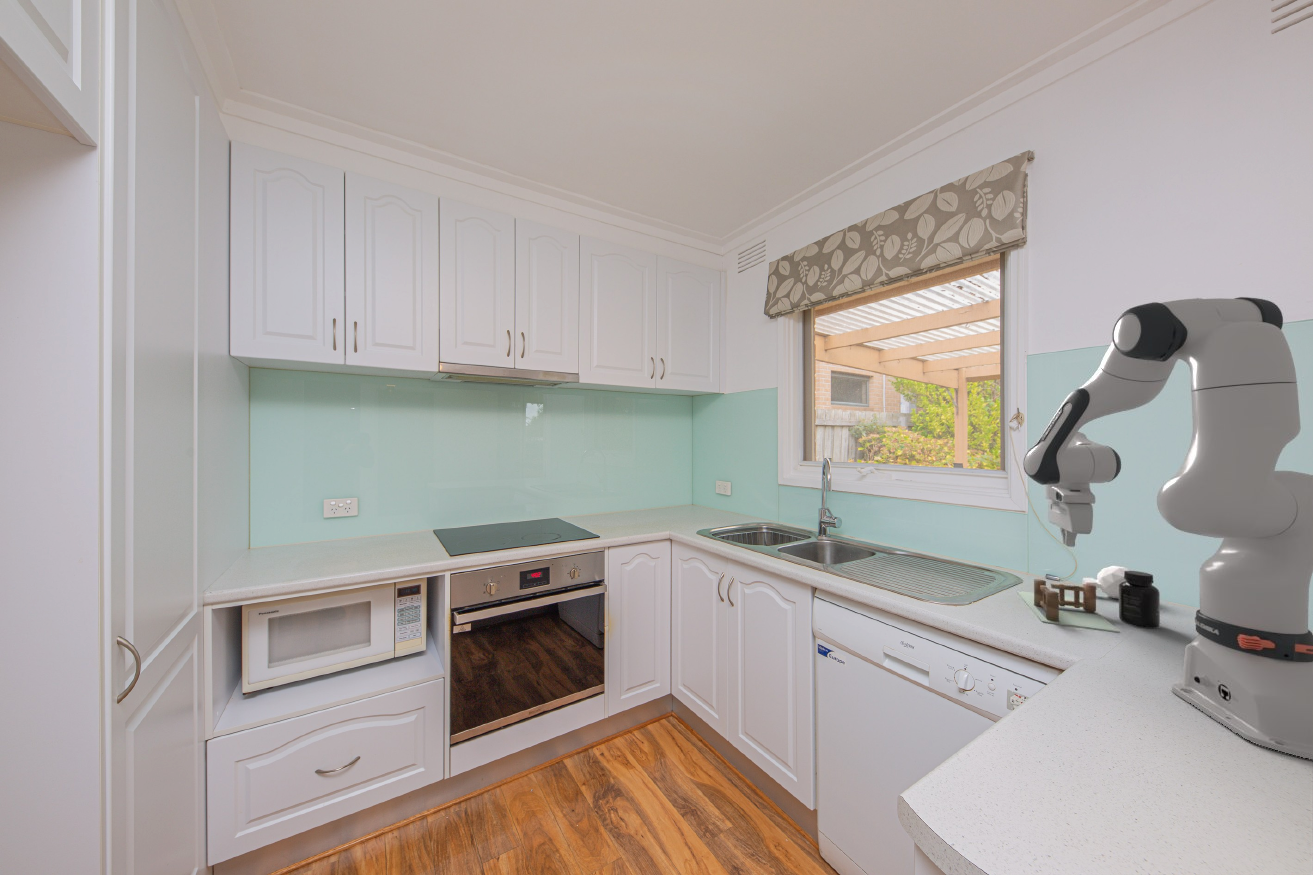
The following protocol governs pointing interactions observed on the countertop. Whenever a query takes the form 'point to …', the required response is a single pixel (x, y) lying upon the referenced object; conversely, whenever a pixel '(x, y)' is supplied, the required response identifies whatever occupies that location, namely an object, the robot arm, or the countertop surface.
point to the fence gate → (1078, 596)
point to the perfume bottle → (1108, 580)
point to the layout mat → (1070, 615)
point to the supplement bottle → (1139, 600)
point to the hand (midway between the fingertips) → (1068, 545)
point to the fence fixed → (1046, 600)
